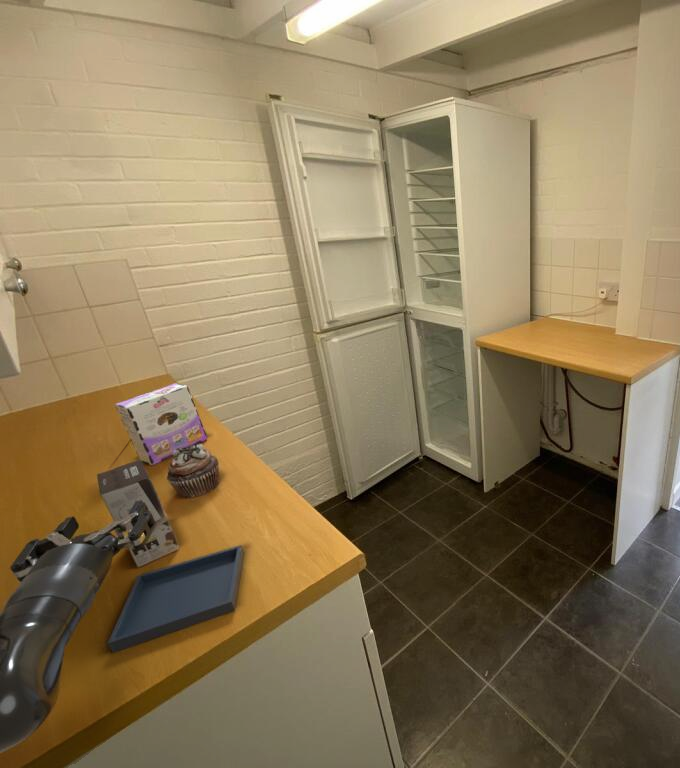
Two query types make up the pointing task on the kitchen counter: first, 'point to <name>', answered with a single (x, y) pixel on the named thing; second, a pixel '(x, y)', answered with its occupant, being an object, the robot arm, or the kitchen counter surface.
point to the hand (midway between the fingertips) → (108, 512)
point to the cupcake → (193, 471)
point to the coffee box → (120, 496)
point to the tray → (179, 597)
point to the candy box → (162, 422)
